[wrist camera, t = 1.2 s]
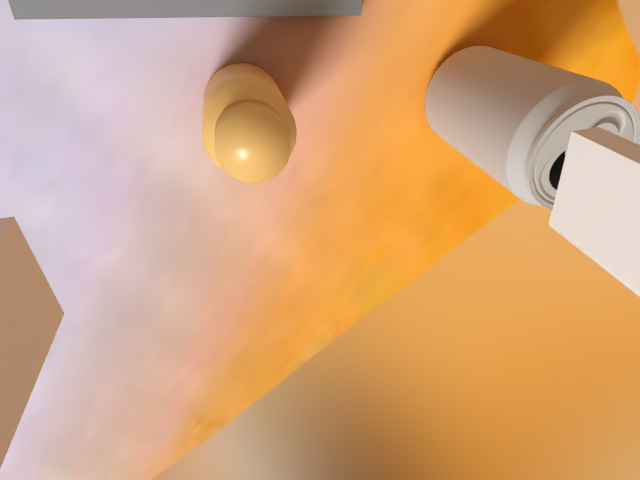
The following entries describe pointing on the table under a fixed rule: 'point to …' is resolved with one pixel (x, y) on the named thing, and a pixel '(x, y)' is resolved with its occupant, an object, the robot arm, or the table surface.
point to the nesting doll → (247, 123)
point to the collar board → (179, 8)
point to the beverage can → (520, 116)
